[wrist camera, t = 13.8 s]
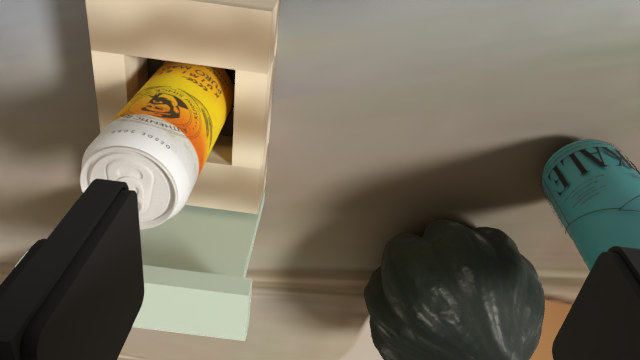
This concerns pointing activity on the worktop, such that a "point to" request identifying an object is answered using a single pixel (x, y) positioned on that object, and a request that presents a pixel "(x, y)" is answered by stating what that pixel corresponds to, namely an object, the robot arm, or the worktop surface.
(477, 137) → the worktop surface
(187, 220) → the mint green slab
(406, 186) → the worktop surface
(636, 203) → the beverage bottle
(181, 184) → the beer can
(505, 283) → the squash
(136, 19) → the socket
